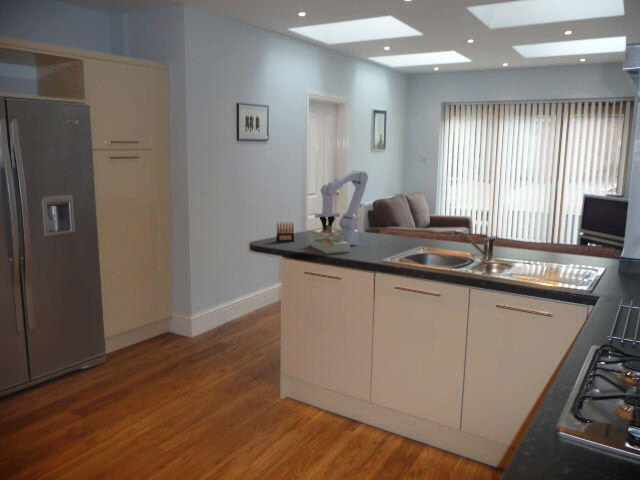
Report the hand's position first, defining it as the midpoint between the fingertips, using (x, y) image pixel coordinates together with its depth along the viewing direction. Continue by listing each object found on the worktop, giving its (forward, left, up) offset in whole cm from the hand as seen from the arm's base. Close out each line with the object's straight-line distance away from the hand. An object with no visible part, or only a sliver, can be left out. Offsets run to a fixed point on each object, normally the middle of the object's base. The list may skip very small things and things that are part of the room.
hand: (327, 229), depth 296 cm
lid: (0, 0, -2) cm, 2 cm away
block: (+6, +14, -5) cm, 16 cm away
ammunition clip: (+16, -25, -11) cm, 32 cm away
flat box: (0, +4, -10) cm, 11 cm away
